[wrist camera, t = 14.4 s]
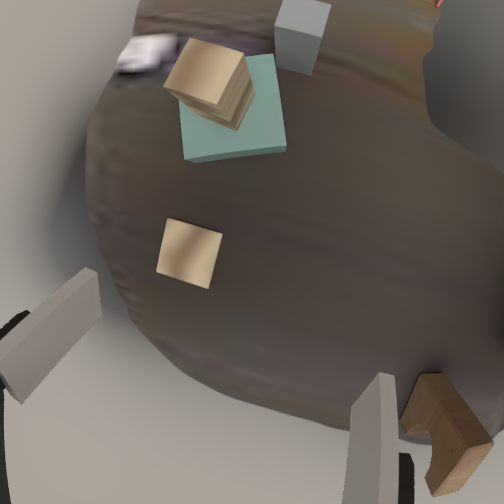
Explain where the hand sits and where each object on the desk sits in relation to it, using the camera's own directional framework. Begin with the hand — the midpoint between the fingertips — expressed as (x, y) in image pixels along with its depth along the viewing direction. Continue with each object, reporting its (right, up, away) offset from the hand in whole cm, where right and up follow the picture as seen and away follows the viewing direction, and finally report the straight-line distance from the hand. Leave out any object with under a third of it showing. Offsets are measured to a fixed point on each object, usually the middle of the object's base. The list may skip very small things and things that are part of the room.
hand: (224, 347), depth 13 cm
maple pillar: (-2, +21, +20) cm, 29 cm away
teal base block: (-1, +23, +26) cm, 35 cm away
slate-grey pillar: (+8, +31, +23) cm, 40 cm away
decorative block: (+32, -22, +32) cm, 50 cm away
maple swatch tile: (-8, +4, +30) cm, 31 cm away
